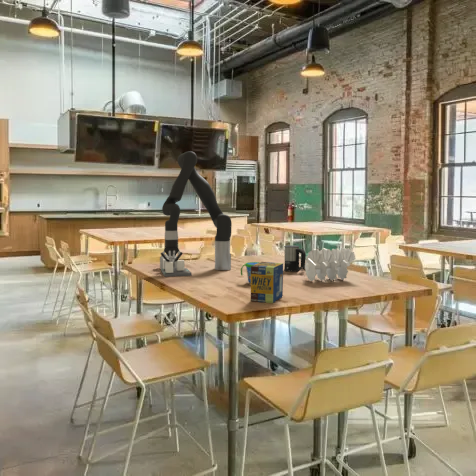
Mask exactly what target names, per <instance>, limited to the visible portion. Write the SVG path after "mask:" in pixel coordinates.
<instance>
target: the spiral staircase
mask: <svg viewBox="0 0 476 476" xmlns="http://www.w3.org/2000/svg"><path fill="white" fill-rule="evenodd" d="M322 248H323V249H321V250H319V248H316V249H315V248H312V249H311V250H310V251H308V252H307V253H308V254H307V255H306V260H305V270H304V271H305V275H306V278H307V279H308V280H309V281H310V282H311V281H315V280H316V277H317V278H318V279H319V280H320V281H321V280H322V281H325V280H326V276H327V278H328V280H329V279H330V280H331V281H332V280H334V281H335V280H336V279H337V278H338V279H341V281H344V279H347V278H348V277H347V276H348V275H347V274H349V271H348V267H350V266H351V262H353V261H355V260H356V255H355V252H354V251H352V250H351V249H350V247H347V248H345V247H342V249H339V248H338V247H336V248H332V249H330V248H325V247H322ZM337 276H338V277H337Z"/></svg>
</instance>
